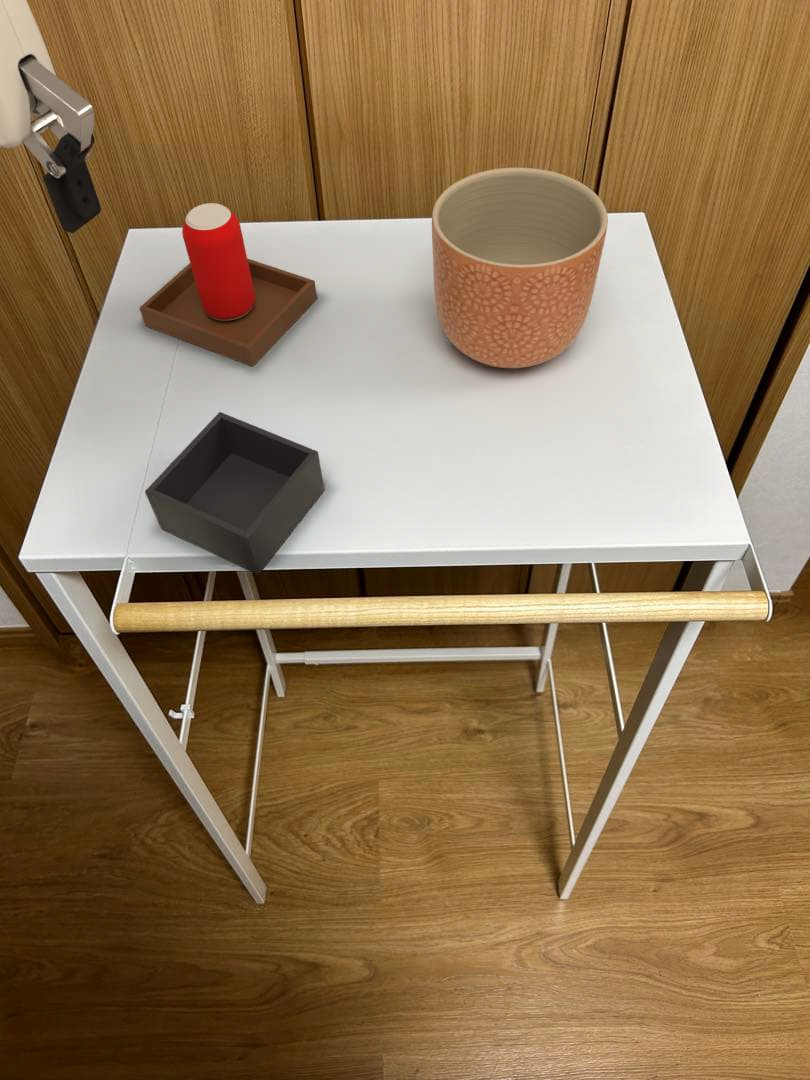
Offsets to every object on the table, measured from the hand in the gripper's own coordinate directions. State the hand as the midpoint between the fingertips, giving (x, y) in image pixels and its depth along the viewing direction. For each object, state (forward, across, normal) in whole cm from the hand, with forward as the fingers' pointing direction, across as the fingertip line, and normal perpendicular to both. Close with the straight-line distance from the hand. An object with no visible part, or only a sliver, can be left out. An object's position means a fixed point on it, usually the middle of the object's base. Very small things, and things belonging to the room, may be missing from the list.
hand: (29, 204), depth 58 cm
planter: (+30, +23, +36) cm, 52 cm away
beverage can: (+29, -8, +25) cm, 40 cm away
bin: (+30, +10, +2) cm, 32 cm away
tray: (+30, -8, +26) cm, 40 cm away
